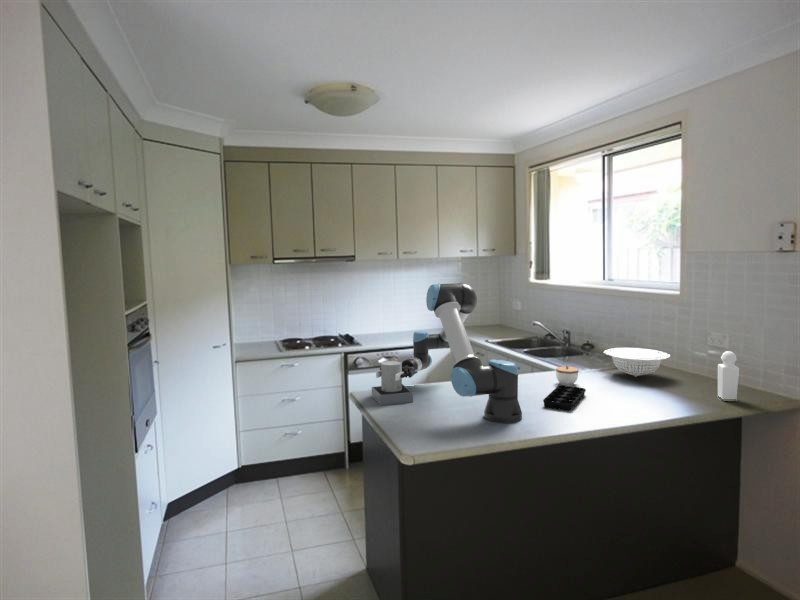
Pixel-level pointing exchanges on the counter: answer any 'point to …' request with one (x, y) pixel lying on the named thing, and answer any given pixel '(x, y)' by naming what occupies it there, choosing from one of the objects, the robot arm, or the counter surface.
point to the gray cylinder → (390, 376)
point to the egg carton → (564, 397)
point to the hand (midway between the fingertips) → (386, 376)
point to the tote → (392, 396)
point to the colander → (636, 359)
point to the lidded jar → (567, 375)
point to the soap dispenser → (728, 376)
